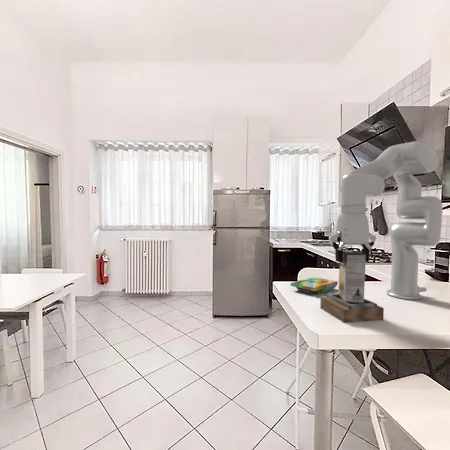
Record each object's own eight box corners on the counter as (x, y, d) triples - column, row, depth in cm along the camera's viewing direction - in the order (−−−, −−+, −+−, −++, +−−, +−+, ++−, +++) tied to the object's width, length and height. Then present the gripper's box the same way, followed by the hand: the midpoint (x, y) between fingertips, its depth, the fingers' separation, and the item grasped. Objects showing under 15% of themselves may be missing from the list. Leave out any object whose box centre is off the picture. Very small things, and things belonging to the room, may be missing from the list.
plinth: (355, 306, 102) (355, 292, 102) (383, 320, 89) (383, 304, 88) (320, 308, 100) (320, 293, 100) (343, 322, 86) (344, 305, 86)
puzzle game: (337, 279, 128) (314, 285, 115) (337, 289, 128) (313, 297, 115) (314, 275, 137) (290, 280, 124) (314, 285, 137) (290, 291, 124)
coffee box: (337, 294, 99) (338, 249, 99) (356, 295, 98) (358, 250, 98) (344, 301, 90) (345, 252, 90) (365, 303, 89) (366, 253, 89)
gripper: (368, 211, 99) (367, 259, 99) (323, 211, 96) (323, 260, 96) (383, 211, 91) (382, 262, 92) (336, 210, 88) (335, 264, 89)
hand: (352, 261), depth 94 cm, fingers open, 9 cm apart
